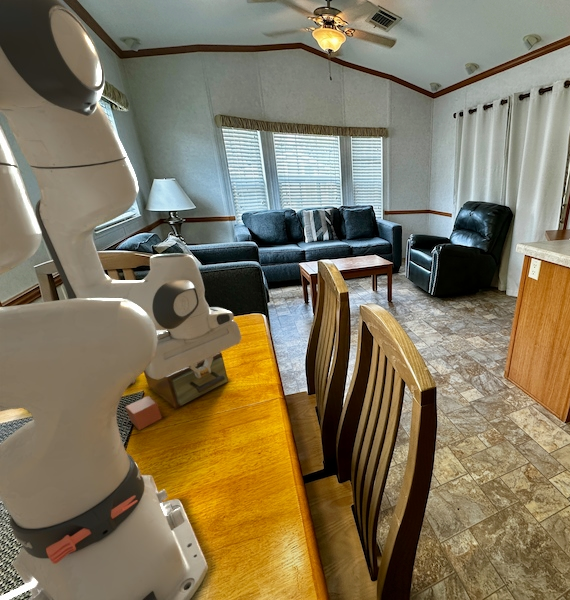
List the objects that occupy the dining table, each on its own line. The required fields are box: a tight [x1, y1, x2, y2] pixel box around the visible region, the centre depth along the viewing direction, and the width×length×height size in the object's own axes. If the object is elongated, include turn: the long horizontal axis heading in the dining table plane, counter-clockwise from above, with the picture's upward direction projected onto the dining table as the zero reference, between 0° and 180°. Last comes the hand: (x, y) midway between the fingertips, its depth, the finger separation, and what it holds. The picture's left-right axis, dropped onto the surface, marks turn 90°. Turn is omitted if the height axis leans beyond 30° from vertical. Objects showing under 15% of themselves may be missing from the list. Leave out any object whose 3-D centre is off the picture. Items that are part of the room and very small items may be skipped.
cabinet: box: [143, 351, 229, 409], centre depth 84 cm, size 15×13×9 cm
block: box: [125, 395, 163, 431], centre depth 73 cm, size 4×4×4 cm
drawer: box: [171, 357, 229, 406], centre depth 82 cm, size 18×12×7 cm, turn 57°
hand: (203, 374), depth 79 cm, fingers closed
